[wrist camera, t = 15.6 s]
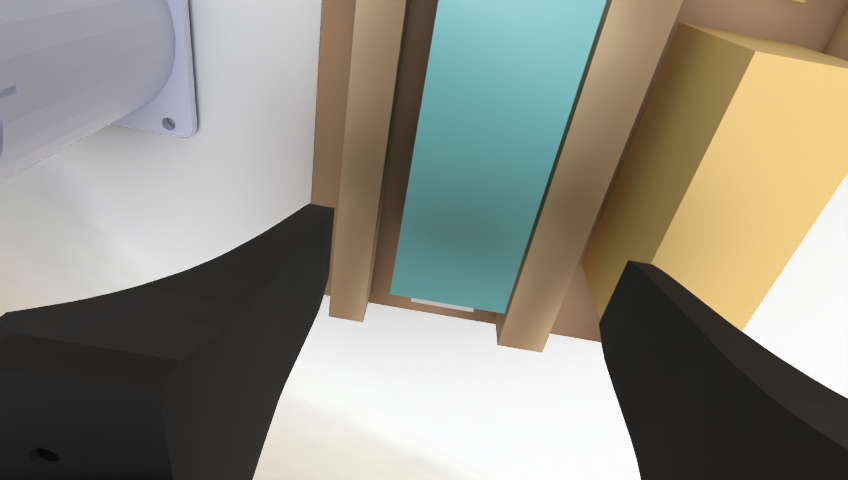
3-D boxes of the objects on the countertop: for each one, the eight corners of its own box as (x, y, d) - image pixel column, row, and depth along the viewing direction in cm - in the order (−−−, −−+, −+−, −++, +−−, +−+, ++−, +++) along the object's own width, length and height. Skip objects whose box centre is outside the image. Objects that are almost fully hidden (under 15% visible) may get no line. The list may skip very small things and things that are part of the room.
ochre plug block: (572, 286, 22) (599, 368, 18) (680, 22, 17) (755, 51, 12) (658, 301, 23) (705, 386, 18) (794, 44, 17) (908, 80, 13)
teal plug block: (400, 246, 22) (385, 320, 18) (448, -42, 16) (444, -35, 12) (489, 261, 22) (495, 339, 18) (569, -19, 16) (607, -3, 12)
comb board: (311, 279, 24) (294, 319, 22) (337, -154, 16) (313, -172, 13) (705, 346, 25) (733, 393, 23) (944, -32, 16) (1034, -26, 14)
